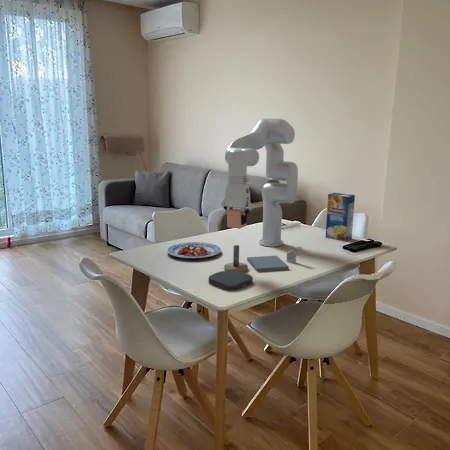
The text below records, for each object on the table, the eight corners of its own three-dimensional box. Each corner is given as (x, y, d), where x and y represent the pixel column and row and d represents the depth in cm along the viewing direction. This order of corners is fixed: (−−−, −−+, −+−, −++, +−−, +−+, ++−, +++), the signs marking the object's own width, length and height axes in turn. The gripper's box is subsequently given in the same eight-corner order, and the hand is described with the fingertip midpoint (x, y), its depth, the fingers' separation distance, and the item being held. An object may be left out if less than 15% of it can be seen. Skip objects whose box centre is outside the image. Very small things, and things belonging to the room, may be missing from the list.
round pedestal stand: (222, 266, 198) (222, 243, 196) (244, 264, 200) (244, 242, 198) (227, 273, 189) (227, 249, 186) (250, 272, 191) (250, 248, 188)
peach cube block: (234, 223, 194) (234, 208, 193) (246, 225, 191) (246, 209, 190) (227, 226, 190) (227, 210, 188) (239, 228, 186) (239, 212, 185)
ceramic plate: (155, 256, 212) (155, 250, 211) (185, 243, 234) (185, 238, 233) (203, 265, 200) (203, 258, 200) (230, 250, 223) (230, 245, 222)
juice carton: (325, 237, 248) (327, 194, 243) (331, 234, 254) (334, 192, 248) (345, 241, 241) (349, 196, 235) (351, 238, 246) (355, 194, 241)
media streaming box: (204, 283, 179) (204, 275, 178) (230, 274, 189) (230, 267, 188) (230, 293, 169) (230, 285, 168) (256, 283, 179) (256, 276, 178)
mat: (247, 260, 207) (247, 257, 206) (276, 258, 210) (276, 255, 209) (257, 271, 192) (257, 268, 191) (288, 269, 195) (288, 266, 194)
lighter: (286, 261, 206) (287, 244, 204) (288, 260, 207) (289, 243, 206) (299, 264, 202) (300, 247, 200) (301, 263, 203) (302, 246, 201)
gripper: (260, 180, 184) (259, 223, 189) (224, 177, 193) (224, 218, 198) (251, 183, 178) (250, 227, 183) (214, 179, 187) (214, 222, 192)
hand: (236, 222), depth 190 cm, fingers closed on peach cube block, 5 cm apart
